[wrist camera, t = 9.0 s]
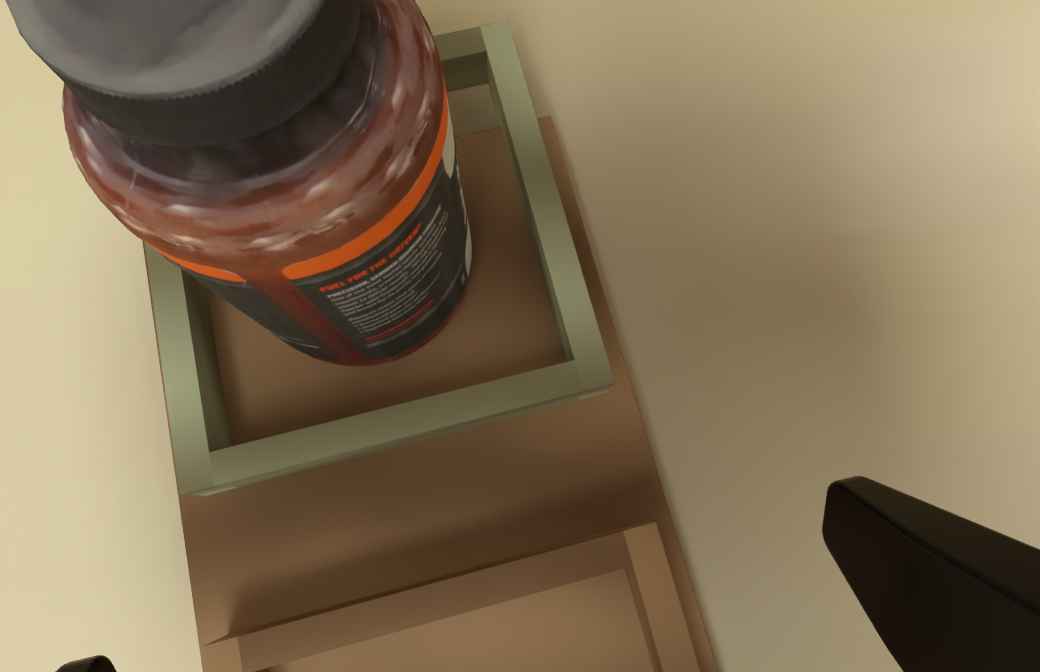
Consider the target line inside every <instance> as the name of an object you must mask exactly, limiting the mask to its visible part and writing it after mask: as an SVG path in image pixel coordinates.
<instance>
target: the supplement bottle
mask: <svg viewBox="0 0 1040 672" xmlns="http://www.w3.org/2000/svg"><path fill="white" fill-rule="evenodd" d="M6 2H7V4H8V7H9V9H10V11H11V14H12V16H13V18H14V20H15V23H16V25H17V28H18V30H19V33H20V35H21V36H22V37H23V38H24V39H25V41H26V42H27V44H28V45H29V47H30V48H31V49H32V50H33V51H34V52H35V53H36V54H37V55H38V56H39V57H40V58H41V59H42V60H43V61H44V62H45V63H46V64H47V65H48V66H49V67H50V68H51V69H52V70H53V71H54V72H55V73H56V74H57V75H58V76H59V77H60V78H61V79H62V80H63V81H64V89H63V96H62V110H63V114H64V122H65V129H66V132H67V136H68V139H69V144H70V149H71V151H72V154H73V157H74V158H75V161H76V163H77V165H78V168H79V169H80V171H81V172H82V174H83V176H84V177H85V180H86V182H87V183H88V184H89V186H90V187H91V188H92V190H93V191H94V193H95V194H96V195H97V197H98V198H99V199H100V201H101V202H102V203H103V204H104V205H105V206H106V207H107V208H108V209H109V210H110V211H111V212H112V213H113V215H114V216H115V217H116V218H117V219H118V220H119V221H120V222H121V223H122V224H123V225H124V226H125V227H126V228H127V229H128V230H130V231H131V232H132V233H133V234H134V235H136V236H137V237H138V238H140V239H141V240H143V241H144V242H146V243H147V244H148V245H150V246H151V247H153V248H154V249H156V250H157V251H159V252H160V253H161V254H162V255H163V257H164V258H165V259H167V260H168V261H170V262H171V263H173V264H175V265H176V266H178V267H179V268H181V269H182V270H183V271H185V272H186V273H188V274H189V275H190V276H192V277H193V278H195V279H196V280H197V281H199V282H200V283H201V284H203V285H204V286H206V287H207V288H209V289H211V290H212V291H213V292H215V293H216V294H218V295H219V296H220V297H222V298H223V299H225V300H226V301H227V302H228V303H230V304H231V305H233V306H234V307H235V308H236V309H238V310H240V311H241V312H243V313H244V314H246V315H247V316H248V317H250V318H251V319H253V320H254V321H256V322H257V323H258V324H259V325H261V326H263V327H264V328H266V329H267V330H268V331H269V332H271V333H272V334H273V335H275V336H276V337H278V338H279V339H281V340H282V341H283V342H285V343H286V344H288V345H289V346H291V347H293V348H295V349H297V350H298V351H300V352H302V353H305V354H307V355H308V356H310V357H313V358H315V359H318V360H321V361H324V362H328V363H333V364H338V365H344V366H372V365H380V364H385V363H389V362H393V361H396V360H398V359H400V358H403V357H405V356H407V355H410V354H411V353H413V352H415V351H417V350H418V349H420V348H422V347H423V346H425V345H426V344H427V343H429V342H430V341H431V340H432V339H433V338H435V337H436V336H437V335H438V334H439V333H440V332H441V331H442V330H443V329H444V328H445V327H446V326H447V324H448V323H449V322H450V321H451V320H452V318H453V317H454V316H455V314H456V312H457V310H458V309H459V307H460V305H461V303H462V300H463V298H464V296H465V293H466V290H467V286H468V283H469V278H470V274H471V264H472V244H471V235H470V229H469V223H468V217H467V211H466V204H465V198H464V193H463V185H462V181H461V174H460V170H459V162H458V158H457V151H456V142H455V137H454V132H453V128H452V122H451V116H450V111H449V104H448V98H447V93H446V89H445V82H444V76H443V70H442V65H441V60H440V55H439V53H438V50H437V47H436V44H435V41H434V38H433V36H432V33H431V30H430V28H429V26H428V24H427V22H426V20H425V18H424V17H423V15H422V13H421V11H420V9H419V7H418V5H417V4H416V2H415V0H6Z"/></svg>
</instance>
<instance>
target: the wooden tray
mask: <svg viewBox="0 0 1040 672" xmlns="http://www.w3.org/2000/svg"><path fill="white" fill-rule="evenodd" d="M433 38H434V41H435V44H436V47H437V50H438V53H439V55H440V60H441V65H442V70H443V76H444V82H445V89H446V92H450V91H455V90H459V89H464V88H468V87H473V86H478V85H482V84H487V83H488V84H489V87H490V91H491V95H492V98H493V102H494V105H495V109H496V112H497V116H498V119H499V123H500V127H499V128H495V129H490V130H486V131H481V132H477V133H472V134H468V135H463V136H459V137H455V142H456V151H457V158H458V162H459V170H460V174H461V181H462V185H463V193H464V198H465V204H466V211H467V217H468V223H469V229H470V235H471V244H472V264H471V274H470V278H469V283H468V286H467V290H466V293H465V296H464V298H463V300H462V303H461V305H460V307H459V309H458V310H457V312H456V314H455V316H454V317H453V318H452V320H451V321H450V322H449V323H448V324H447V326H446V327H445V328H444V329H443V330H442V331H441V332H440V333H439V334H438V335H437V336H436V337H435V338H433V339H432V340H431V341H430V342H429V343H427V344H426V345H425V346H423V347H422V348H420V349H418V350H417V351H415V352H413V353H411V354H410V355H407V356H405V357H403V358H400V359H398V360H396V361H393V362H389V363H385V364H380V365H372V366H344V365H338V364H333V363H328V362H324V361H321V360H318V359H315V358H313V357H310V356H308V355H307V354H305V353H302V352H300V351H298V350H297V349H295V348H293V347H291V346H289V345H288V344H286V343H285V342H283V341H282V340H281V339H279V338H278V337H276V336H275V335H273V334H272V333H271V332H269V331H268V330H267V329H266V328H264V327H263V326H261V325H259V324H258V323H257V322H256V321H254V320H253V319H251V318H250V317H248V316H247V315H246V314H244V313H243V312H241V311H240V310H238V309H236V308H235V307H234V306H233V305H231V304H230V303H228V302H227V301H226V300H225V299H223V298H222V297H220V296H219V295H218V294H216V293H215V292H213V291H212V290H211V289H209V288H207V287H206V286H204V285H203V284H201V283H200V282H199V281H197V280H196V279H195V278H193V277H192V276H190V275H189V274H188V273H186V272H185V271H183V270H182V269H181V268H179V267H178V266H176V265H175V264H173V263H171V262H170V261H168V260H167V259H165V258H164V257H163V255H162V254H161V253H160V252H159V251H157V250H156V249H154V248H153V247H151V246H150V245H148V244H147V243H146V242H144V241H143V247H144V254H145V261H146V268H147V276H148V283H149V290H150V297H151V304H152V311H153V318H154V326H155V333H156V340H157V347H158V354H159V361H160V368H161V375H162V383H163V390H164V397H165V404H166V411H167V418H168V425H169V433H170V440H171V447H172V454H173V461H174V468H175V475H176V483H177V490H178V497H179V504H180V511H181V518H182V525H183V532H184V540H185V547H186V554H187V561H188V568H189V575H190V582H191V590H192V597H193V604H194V611H195V618H196V625H197V632H198V640H199V647H200V654H201V661H202V668H203V672H718V671H717V668H716V665H715V661H714V658H713V655H712V652H711V648H710V645H709V642H708V638H707V635H706V632H705V628H704V625H703V622H702V618H701V615H700V612H699V608H698V605H697V602H696V598H695V595H694V592H693V588H692V585H691V582H690V579H689V575H688V572H687V569H686V565H685V562H684V559H683V555H682V552H681V549H680V545H679V542H678V539H677V535H676V532H675V529H674V525H673V522H672V519H671V515H670V512H669V509H668V506H667V502H666V499H665V496H664V492H663V489H662V486H661V482H660V479H659V476H658V472H657V469H656V466H655V462H654V459H653V456H652V452H651V449H650V446H649V442H648V439H647V436H646V432H645V429H644V426H643V423H642V419H641V416H640V413H639V409H638V406H637V403H636V399H635V396H634V393H633V389H632V386H631V383H630V379H629V376H628V373H627V369H626V366H625V363H624V359H623V356H622V353H621V350H620V346H619V343H618V340H617V336H616V333H615V330H614V326H613V323H612V320H611V316H610V313H609V310H608V306H607V303H606V300H605V296H604V293H603V290H602V286H601V283H600V280H599V277H598V273H597V270H596V267H595V263H594V260H593V257H592V253H591V250H590V247H589V243H588V240H587V237H586V233H585V230H584V227H583V223H582V220H581V217H580V213H579V210H578V207H577V204H576V200H575V197H574V194H573V190H572V187H571V184H570V180H569V177H568V174H567V170H566V167H565V164H564V160H563V157H562V154H561V150H560V147H559V144H558V140H557V137H556V134H555V131H554V127H553V124H552V121H551V117H550V116H548V117H544V118H539V119H537V118H536V115H535V111H534V108H533V105H532V101H531V98H530V94H529V91H528V88H527V84H526V81H525V78H524V74H523V71H522V67H521V64H520V61H519V57H518V54H517V51H516V47H515V44H514V40H513V37H512V34H511V30H510V27H509V23H508V21H504V22H499V23H494V24H490V25H485V26H480V27H475V28H471V29H466V30H461V31H457V32H452V33H447V34H442V35H438V36H433Z"/></svg>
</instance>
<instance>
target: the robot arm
mask: <svg viewBox="0 0 1040 672" xmlns="http://www.w3.org/2000/svg"><path fill="white" fill-rule="evenodd" d="M822 532H823V538H824V541H825V544H826V546H827V548H828V550H829V551H830V553H831V555H832V556H833V558H834V560H835V562H836V563H837V565H838V567H839V568H840V570H841V572H842V573H843V575H844V577H845V578H846V580H847V582H848V583H849V585H850V587H851V589H852V590H853V592H854V594H855V595H856V597H857V599H858V600H859V602H860V604H861V605H862V607H863V609H864V611H865V612H866V614H867V616H868V617H869V619H870V621H871V622H872V624H873V626H874V627H875V629H876V631H877V632H878V634H879V636H880V637H881V639H882V640H883V642H884V644H885V645H886V647H887V648H888V650H889V651H890V653H891V654H892V656H893V657H894V659H895V660H896V661H897V663H898V664H899V666H900V667H901V669H902V670H903V671H904V672H1040V549H1037V548H1035V547H1032V546H1030V545H1028V544H1025V543H1023V542H1020V541H1018V540H1016V539H1013V538H1011V537H1008V536H1006V535H1004V534H1001V533H999V532H996V531H994V530H991V529H989V528H987V527H984V526H982V525H979V524H977V523H975V522H972V521H970V520H967V519H965V518H963V517H960V516H958V515H955V514H953V513H951V512H948V511H946V510H943V509H941V508H938V507H936V506H934V505H931V504H929V503H926V502H924V501H922V500H919V499H917V498H914V497H912V496H910V495H907V494H905V493H902V492H900V491H897V490H895V489H893V488H890V487H888V486H885V485H883V484H881V483H878V482H876V481H873V480H871V479H869V478H866V477H863V476H854V477H850V478H846V479H841V480H837V481H834V482H832V483H831V484H830V486H829V487H828V490H827V496H826V504H825V511H824V518H823V525H822ZM56 672H116V670H115V668H114V666H113V664H112V663H111V661H110V660H109V659H108V658H107V657H105V656H103V655H102V656H100V655H98V656H93V657H89V658H85V659H81V660H76V661H72V662H69V663H66V664H64V665H63V666H61V667H60V668H59V669H58V670H57V671H56Z"/></svg>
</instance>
